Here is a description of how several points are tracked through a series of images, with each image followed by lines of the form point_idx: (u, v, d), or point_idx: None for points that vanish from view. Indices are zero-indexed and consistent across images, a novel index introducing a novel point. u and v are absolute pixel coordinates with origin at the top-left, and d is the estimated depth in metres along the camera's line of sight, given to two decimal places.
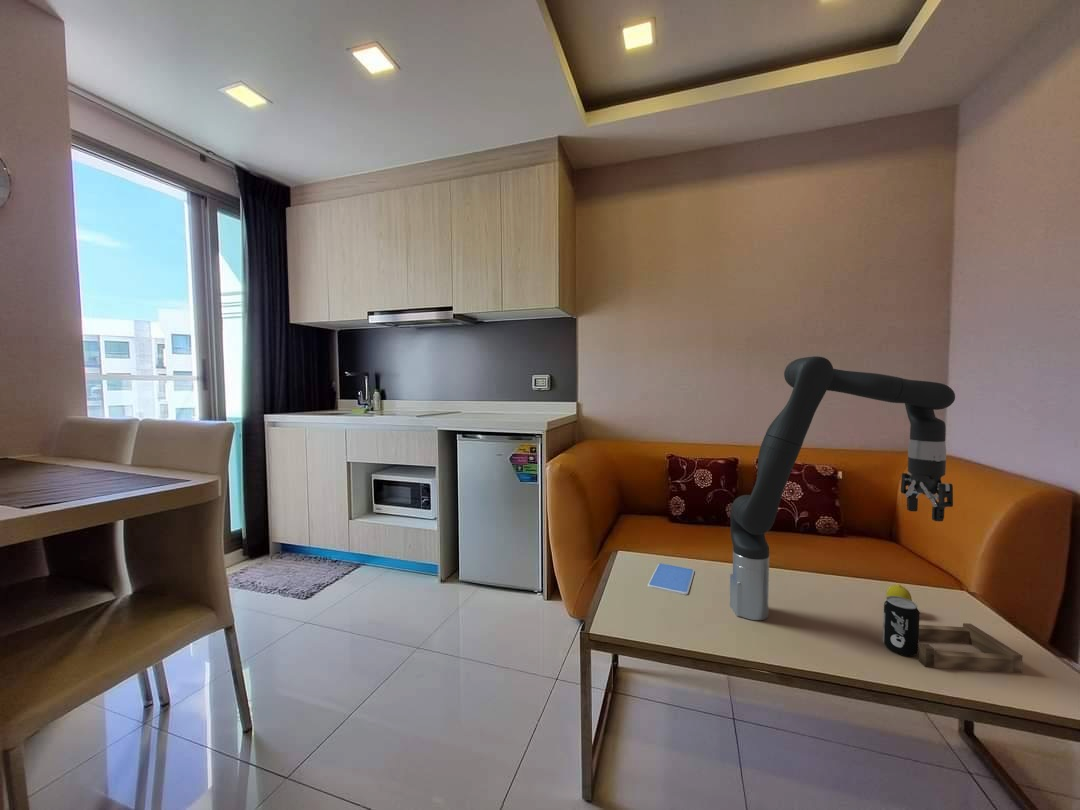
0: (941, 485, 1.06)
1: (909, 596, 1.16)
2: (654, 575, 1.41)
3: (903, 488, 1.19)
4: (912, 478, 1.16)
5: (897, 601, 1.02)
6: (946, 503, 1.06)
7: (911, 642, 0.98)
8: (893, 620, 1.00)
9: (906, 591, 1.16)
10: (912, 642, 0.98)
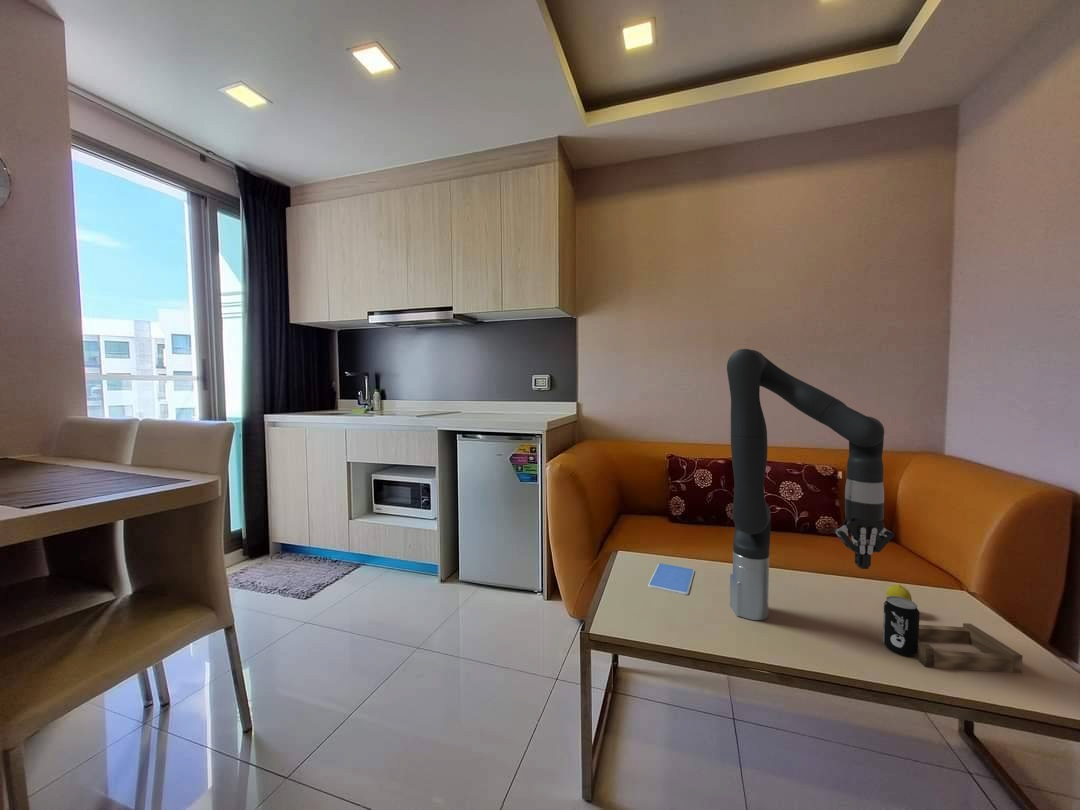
0: (893, 535, 1.00)
1: (909, 596, 1.16)
2: (654, 575, 1.41)
3: (853, 545, 1.01)
4: (853, 526, 1.01)
5: (897, 601, 1.02)
6: None
7: (911, 642, 0.98)
8: (893, 620, 1.00)
9: (906, 591, 1.16)
10: (912, 642, 0.98)
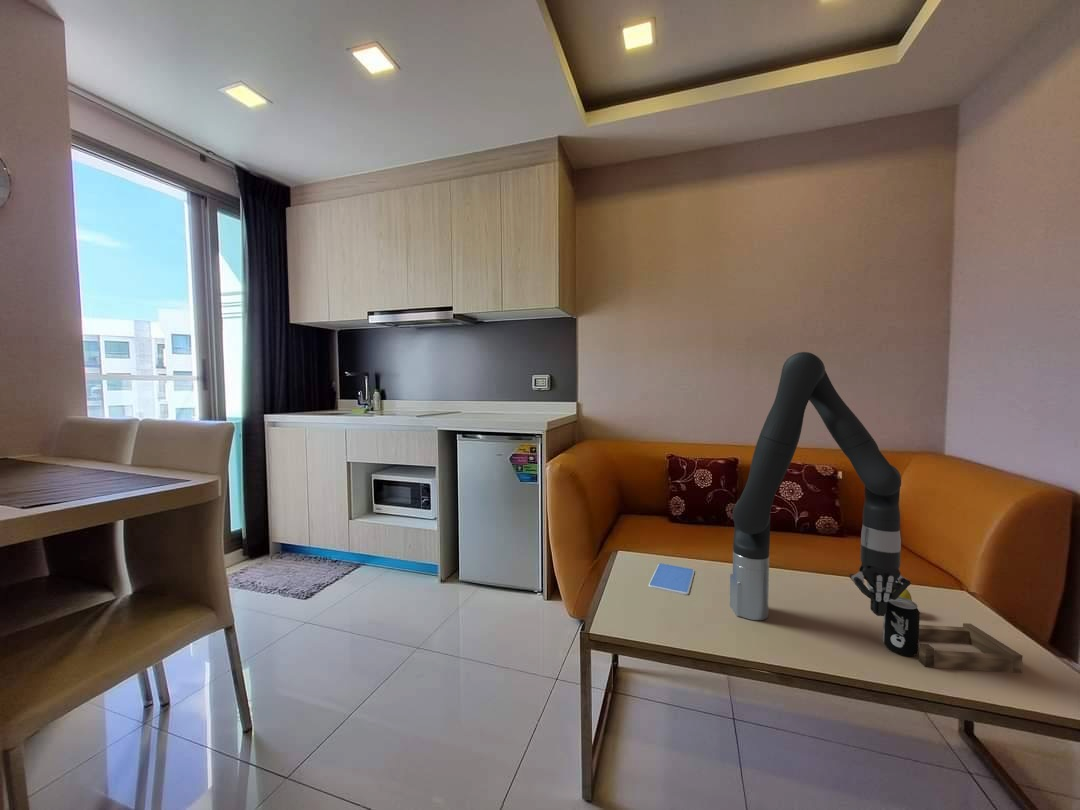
0: (909, 583, 1.00)
1: (909, 596, 1.16)
2: (654, 575, 1.41)
3: (869, 592, 1.01)
4: (869, 573, 1.01)
5: (897, 601, 1.02)
6: None
7: (911, 642, 0.98)
8: (893, 620, 1.00)
9: (906, 591, 1.16)
10: (912, 642, 0.98)
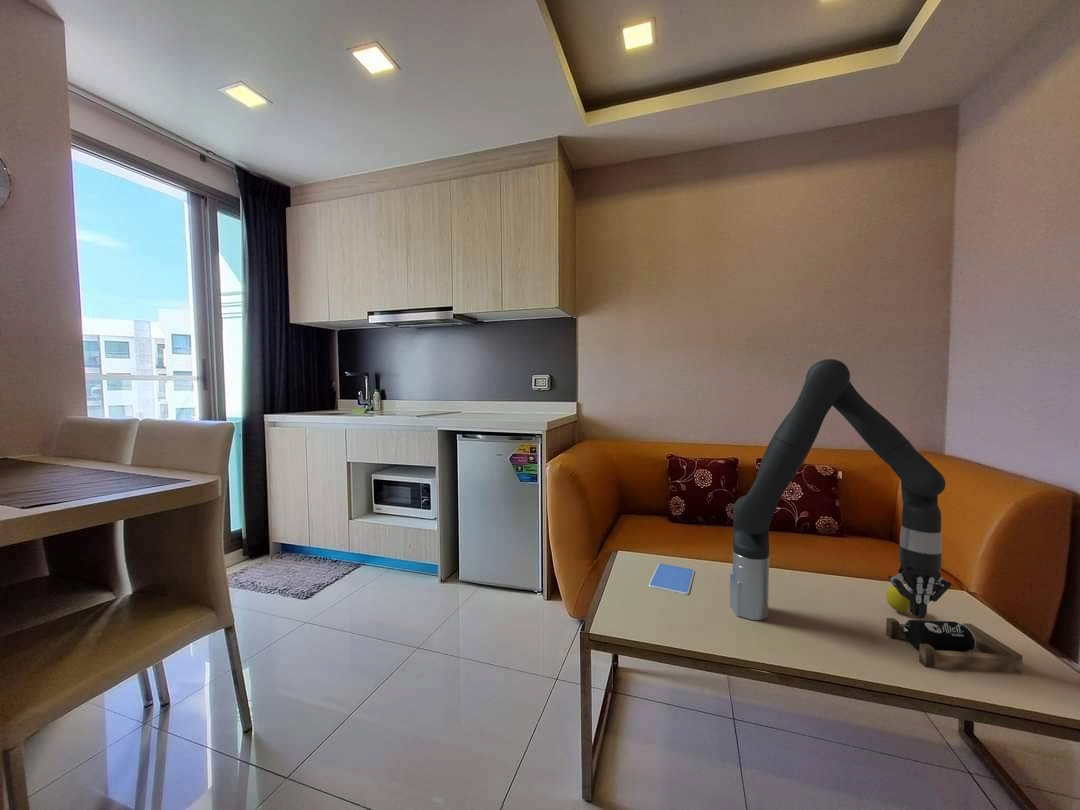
0: (950, 585, 0.99)
1: None
2: (654, 575, 1.41)
3: (909, 594, 1.00)
4: (909, 575, 1.00)
5: None
6: None
7: (940, 638, 0.99)
8: (950, 624, 1.01)
9: None
10: (940, 640, 0.99)
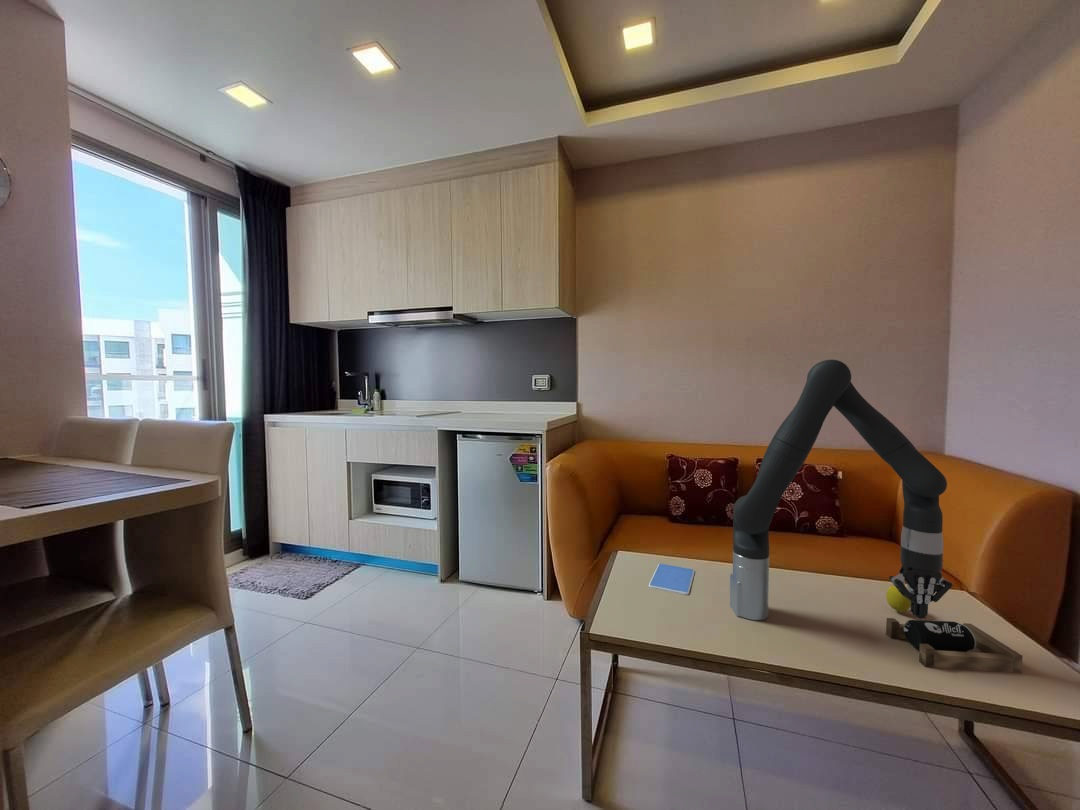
0: (951, 585, 0.99)
1: None
2: (654, 575, 1.41)
3: (910, 594, 1.00)
4: (910, 575, 1.00)
5: None
6: None
7: (940, 638, 0.99)
8: (950, 624, 1.01)
9: None
10: (940, 640, 0.99)
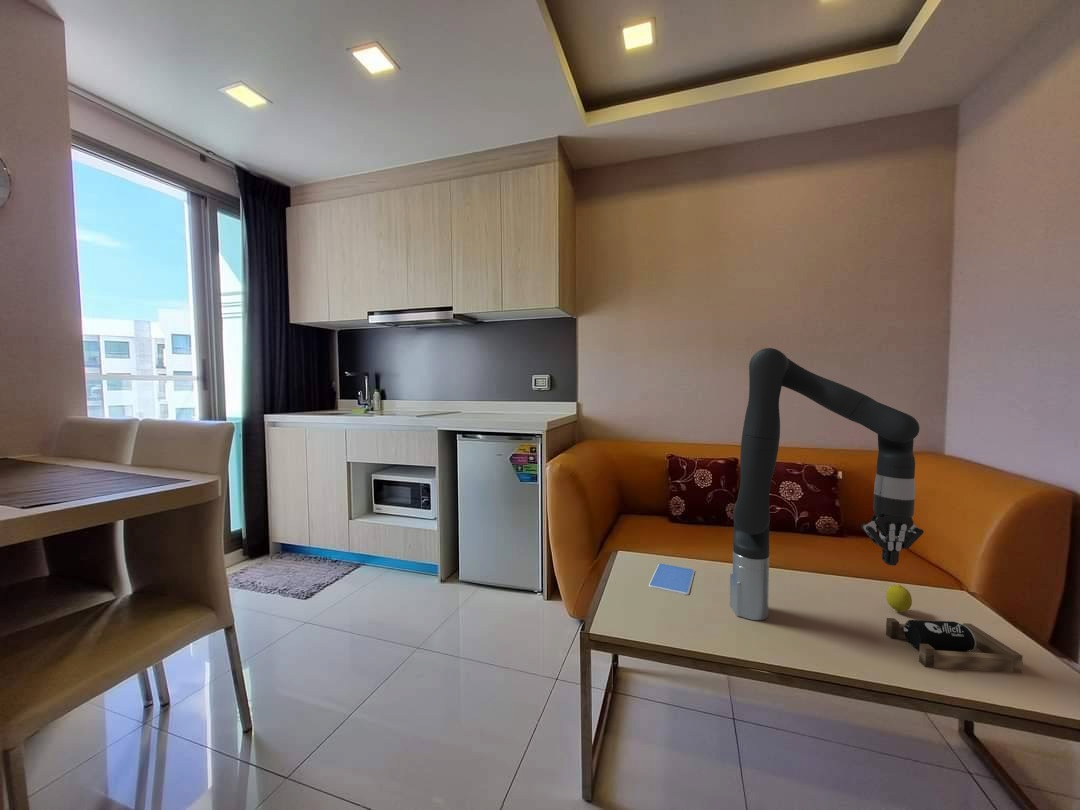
0: (922, 532, 0.99)
1: (909, 596, 1.16)
2: (655, 575, 1.41)
3: (881, 541, 1.00)
4: (881, 522, 1.00)
5: None
6: None
7: (940, 638, 0.99)
8: (950, 624, 1.01)
9: (906, 591, 1.16)
10: (940, 640, 0.99)
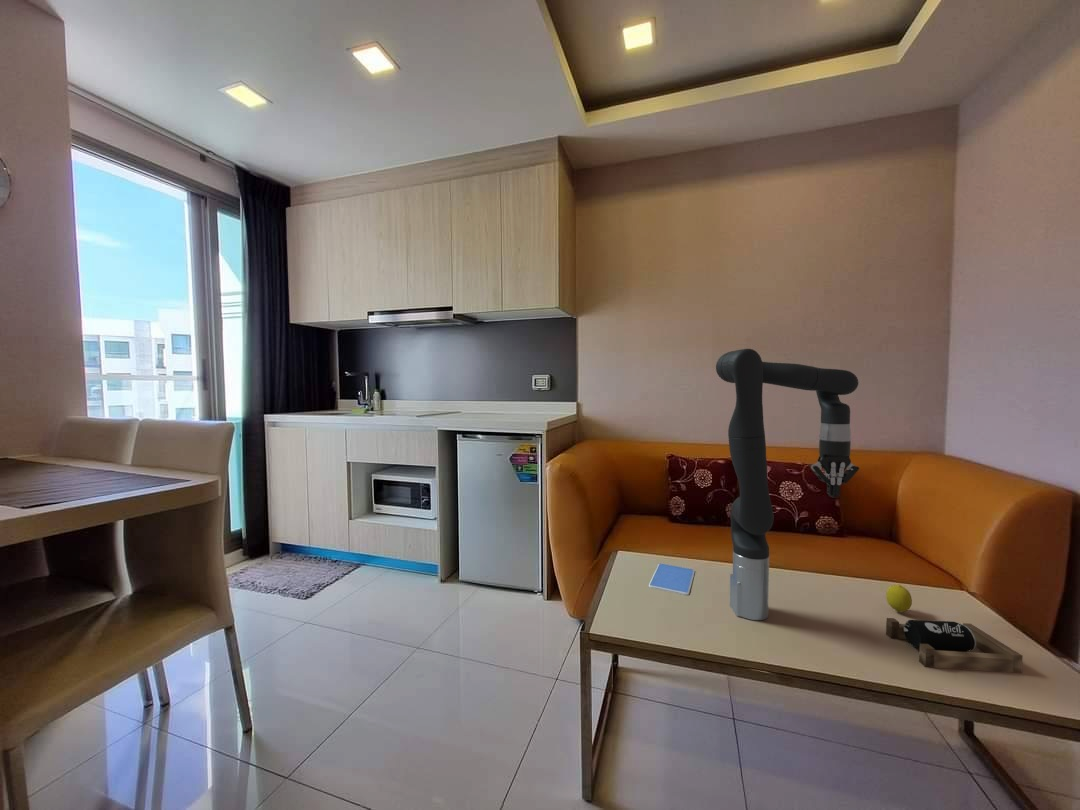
0: (858, 468, 1.20)
1: (909, 596, 1.16)
2: (655, 575, 1.41)
3: (825, 477, 1.21)
4: (825, 461, 1.21)
5: None
6: None
7: (940, 638, 0.99)
8: (950, 624, 1.01)
9: (906, 591, 1.16)
10: (940, 640, 0.99)
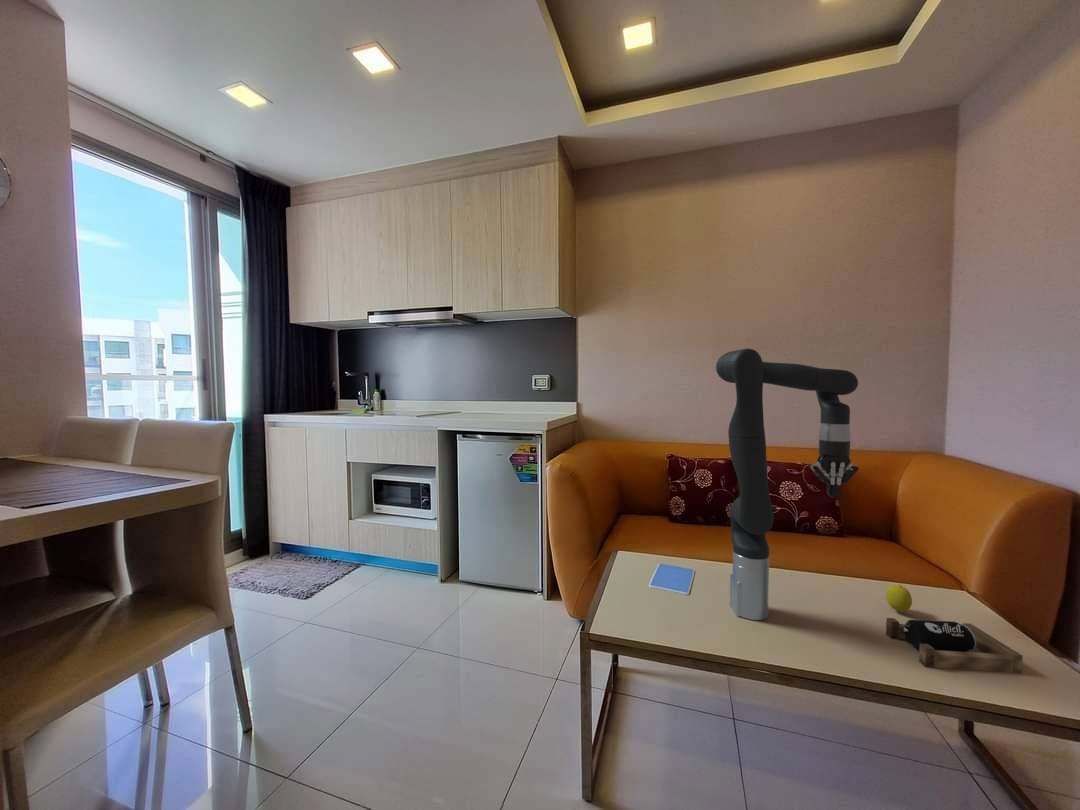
0: (857, 469, 1.20)
1: (909, 596, 1.16)
2: (655, 575, 1.41)
3: (825, 477, 1.22)
4: (824, 461, 1.21)
5: None
6: None
7: (940, 638, 0.99)
8: (950, 624, 1.01)
9: (906, 591, 1.16)
10: (940, 640, 0.99)
